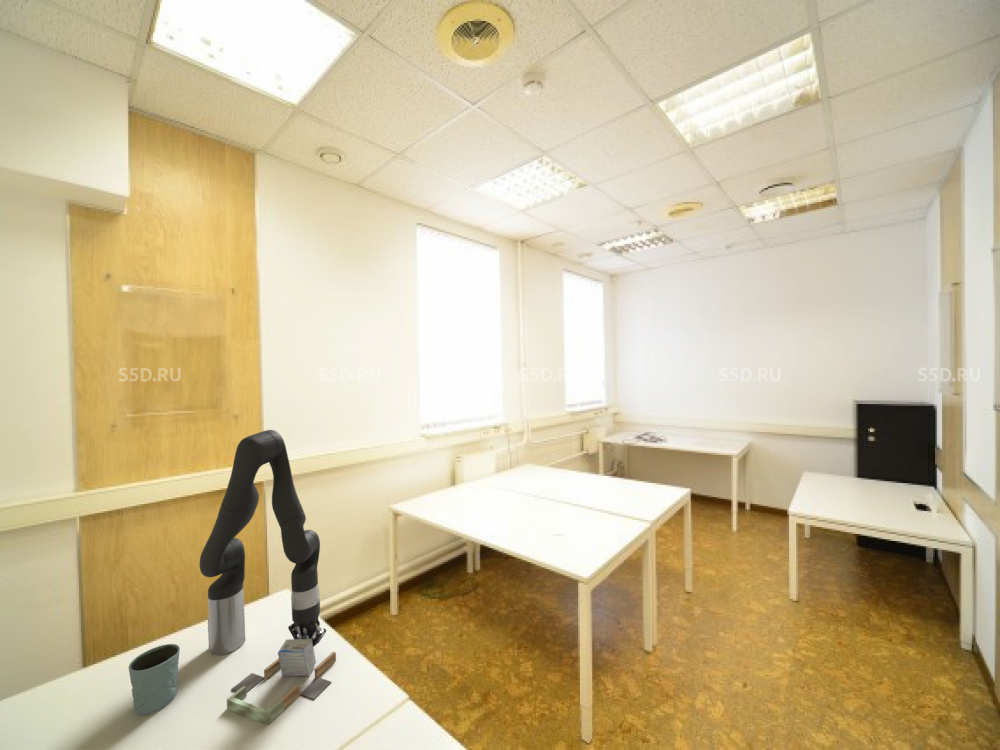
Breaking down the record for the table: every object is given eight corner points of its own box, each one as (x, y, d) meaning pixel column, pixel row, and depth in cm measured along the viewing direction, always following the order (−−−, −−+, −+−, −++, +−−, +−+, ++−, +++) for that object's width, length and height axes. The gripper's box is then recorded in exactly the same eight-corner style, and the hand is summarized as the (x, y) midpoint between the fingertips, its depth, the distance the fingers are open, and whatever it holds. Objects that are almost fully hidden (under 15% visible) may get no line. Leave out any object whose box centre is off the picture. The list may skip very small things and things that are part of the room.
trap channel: (214, 703, 103) (213, 694, 103) (287, 645, 124) (287, 638, 124) (282, 731, 94) (282, 721, 94) (349, 664, 115) (349, 656, 115)
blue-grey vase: (121, 722, 98) (119, 675, 98) (145, 690, 108) (143, 647, 108) (169, 711, 101) (167, 665, 101) (188, 681, 111) (186, 639, 111)
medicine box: (316, 662, 115) (312, 638, 114) (309, 677, 111) (305, 652, 109) (290, 662, 116) (285, 638, 114) (281, 677, 111) (277, 652, 109)
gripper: (278, 604, 115) (281, 662, 115) (312, 612, 110) (315, 673, 111) (299, 590, 122) (301, 645, 122) (332, 597, 117) (335, 654, 118)
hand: (308, 658), depth 117 cm, fingers closed
